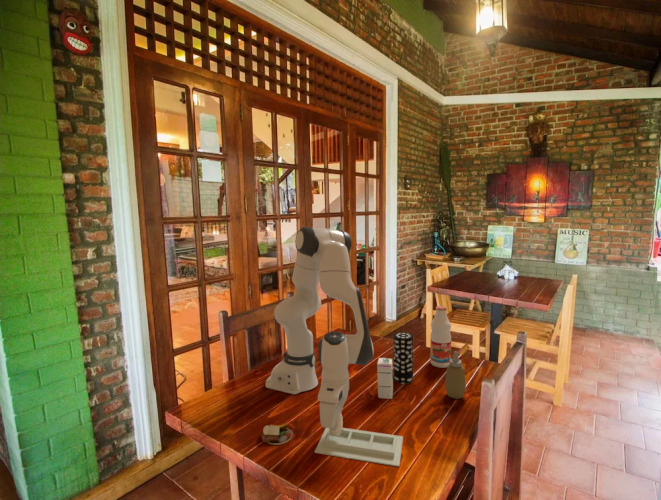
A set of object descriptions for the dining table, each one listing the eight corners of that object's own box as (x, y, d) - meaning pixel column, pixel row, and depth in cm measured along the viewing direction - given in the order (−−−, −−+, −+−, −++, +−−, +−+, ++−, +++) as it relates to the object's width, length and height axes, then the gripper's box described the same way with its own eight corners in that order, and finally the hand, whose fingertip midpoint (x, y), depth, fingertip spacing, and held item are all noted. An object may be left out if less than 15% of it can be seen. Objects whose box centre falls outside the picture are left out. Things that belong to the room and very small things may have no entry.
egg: (327, 434, 116) (327, 414, 115) (331, 426, 121) (331, 407, 120) (340, 437, 115) (340, 416, 114) (344, 429, 119) (344, 409, 118)
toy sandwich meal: (290, 447, 116) (290, 436, 116) (259, 447, 117) (258, 436, 116) (294, 429, 126) (293, 419, 125) (265, 429, 126) (264, 419, 126)
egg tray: (314, 452, 113) (314, 446, 113) (327, 426, 126) (327, 421, 126) (399, 466, 106) (399, 460, 106) (403, 437, 119) (403, 431, 119)
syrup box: (392, 399, 143) (392, 364, 142) (377, 398, 144) (377, 363, 143) (393, 392, 149) (392, 358, 147) (378, 390, 150) (378, 357, 148)
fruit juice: (447, 359, 179) (448, 304, 175) (453, 368, 169) (454, 309, 166) (428, 359, 179) (428, 304, 176) (432, 368, 170) (433, 309, 167)
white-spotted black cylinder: (393, 383, 156) (392, 338, 154) (394, 374, 164) (394, 331, 162) (412, 384, 154) (413, 339, 152) (413, 376, 162) (413, 332, 160)
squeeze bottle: (447, 388, 151) (447, 346, 149) (467, 393, 146) (468, 350, 144) (442, 397, 144) (442, 353, 142) (463, 402, 140) (464, 357, 138)
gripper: (334, 368, 127) (335, 406, 128) (315, 398, 107) (316, 442, 109) (352, 370, 125) (352, 408, 127) (336, 401, 105) (337, 445, 107)
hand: (335, 424), depth 117 cm, fingers closed on egg, 4 cm apart
